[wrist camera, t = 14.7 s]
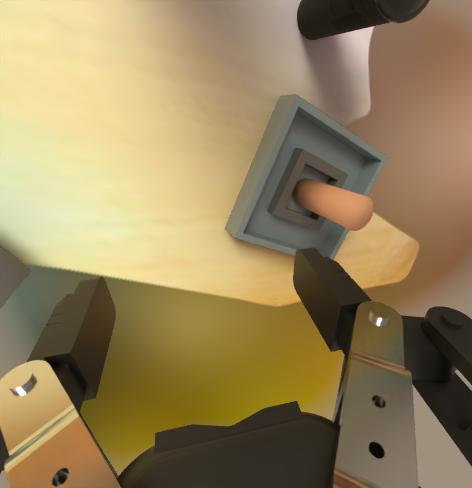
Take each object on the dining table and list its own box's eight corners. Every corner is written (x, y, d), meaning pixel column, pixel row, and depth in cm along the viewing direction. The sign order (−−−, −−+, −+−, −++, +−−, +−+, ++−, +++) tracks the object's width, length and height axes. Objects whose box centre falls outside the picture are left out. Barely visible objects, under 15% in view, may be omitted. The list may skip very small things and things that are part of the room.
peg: (299, 174, 42) (356, 191, 32) (319, 183, 44) (379, 202, 34) (287, 200, 43) (338, 225, 33) (307, 208, 45) (362, 234, 35)
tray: (280, 96, 37) (296, 94, 34) (368, 154, 47) (388, 157, 43) (224, 228, 42) (234, 237, 39) (315, 256, 52) (329, 266, 48)
